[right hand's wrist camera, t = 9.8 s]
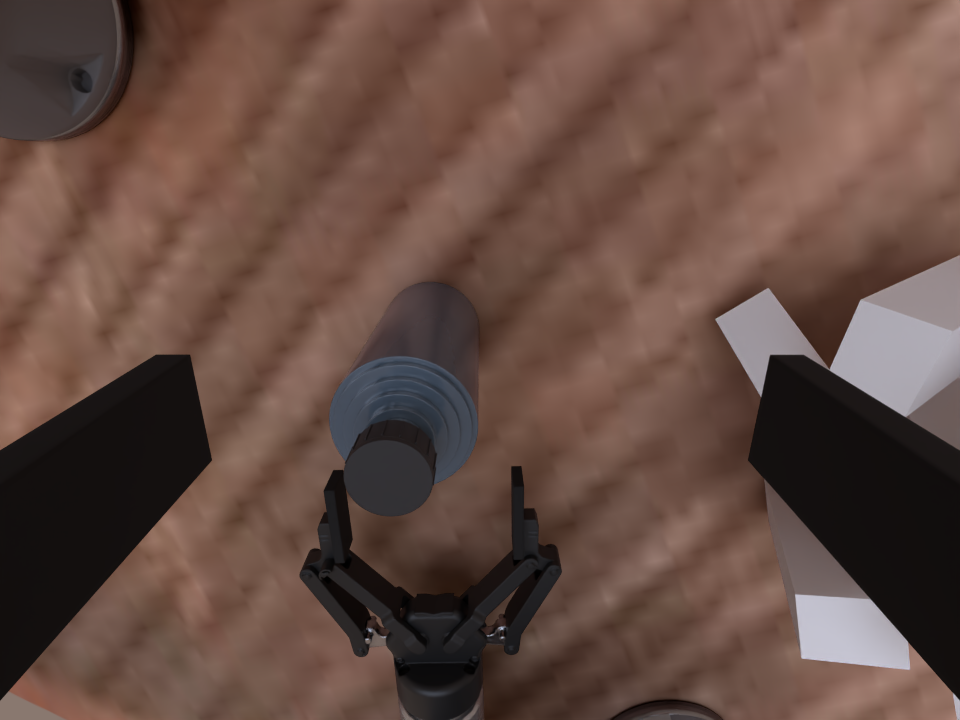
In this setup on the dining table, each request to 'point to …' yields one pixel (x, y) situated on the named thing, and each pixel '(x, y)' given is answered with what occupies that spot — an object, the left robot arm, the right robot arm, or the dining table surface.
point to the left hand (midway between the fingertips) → (425, 477)
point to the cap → (391, 468)
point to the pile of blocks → (896, 383)
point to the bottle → (417, 375)
